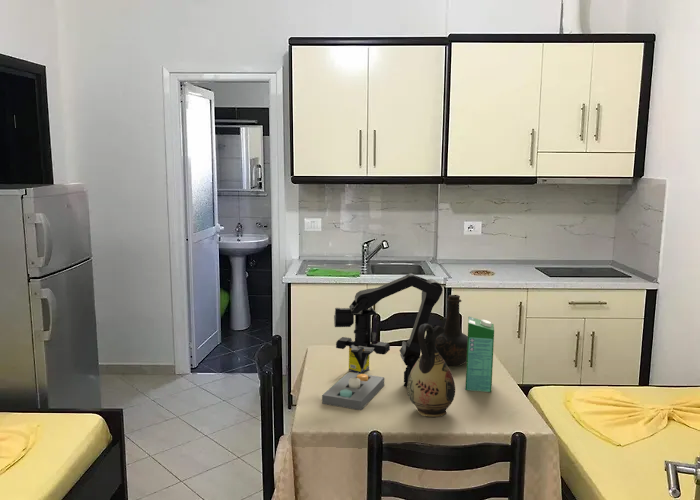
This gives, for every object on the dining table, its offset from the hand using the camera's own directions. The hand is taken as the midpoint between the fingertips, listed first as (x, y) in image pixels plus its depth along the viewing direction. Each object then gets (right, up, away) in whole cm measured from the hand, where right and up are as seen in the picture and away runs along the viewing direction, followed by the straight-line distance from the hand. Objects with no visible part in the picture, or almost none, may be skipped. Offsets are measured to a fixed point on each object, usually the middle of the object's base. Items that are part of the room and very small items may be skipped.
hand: (362, 368), depth 217 cm
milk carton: (+42, -7, +2) cm, 43 cm away
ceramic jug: (+21, -10, -21) cm, 32 cm away
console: (-3, -8, -6) cm, 10 cm away
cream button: (-3, -6, -7) cm, 9 cm away
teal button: (-6, -8, -14) cm, 17 cm away
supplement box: (-1, -4, +17) cm, 18 cm away
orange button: (0, -6, +1) cm, 6 cm away
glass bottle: (+36, -3, +27) cm, 46 cm away
